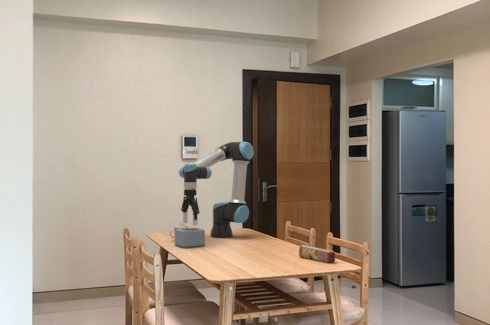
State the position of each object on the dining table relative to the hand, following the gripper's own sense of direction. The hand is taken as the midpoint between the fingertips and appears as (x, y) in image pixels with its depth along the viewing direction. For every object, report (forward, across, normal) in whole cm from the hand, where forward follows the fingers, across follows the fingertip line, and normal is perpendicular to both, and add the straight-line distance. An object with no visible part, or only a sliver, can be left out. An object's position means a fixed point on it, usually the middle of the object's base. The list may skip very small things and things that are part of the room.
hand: (190, 224), depth 310 cm
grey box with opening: (+13, 0, 0) cm, 13 cm away
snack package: (+14, +72, +39) cm, 83 cm away
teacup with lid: (+13, -20, +2) cm, 24 cm away
